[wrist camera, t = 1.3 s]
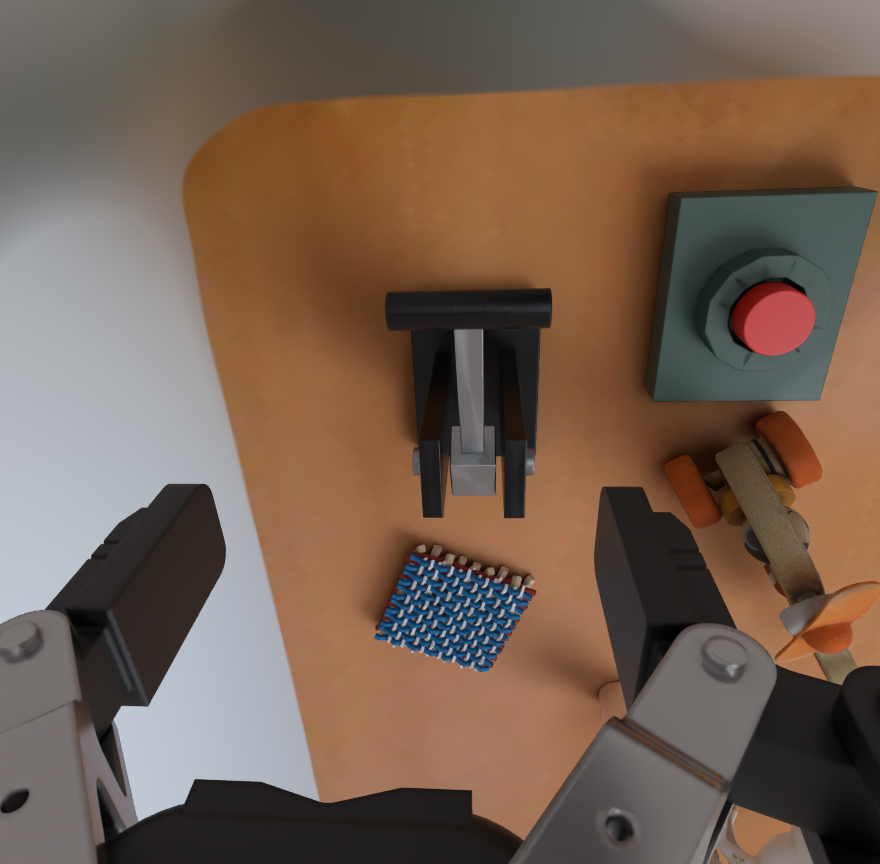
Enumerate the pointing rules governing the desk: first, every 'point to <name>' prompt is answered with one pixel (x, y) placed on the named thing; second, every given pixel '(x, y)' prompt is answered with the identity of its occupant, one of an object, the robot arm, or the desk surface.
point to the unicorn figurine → (777, 860)
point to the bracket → (504, 407)
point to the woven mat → (453, 609)
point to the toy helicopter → (779, 536)
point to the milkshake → (611, 702)
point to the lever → (470, 362)
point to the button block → (742, 268)
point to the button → (773, 318)
